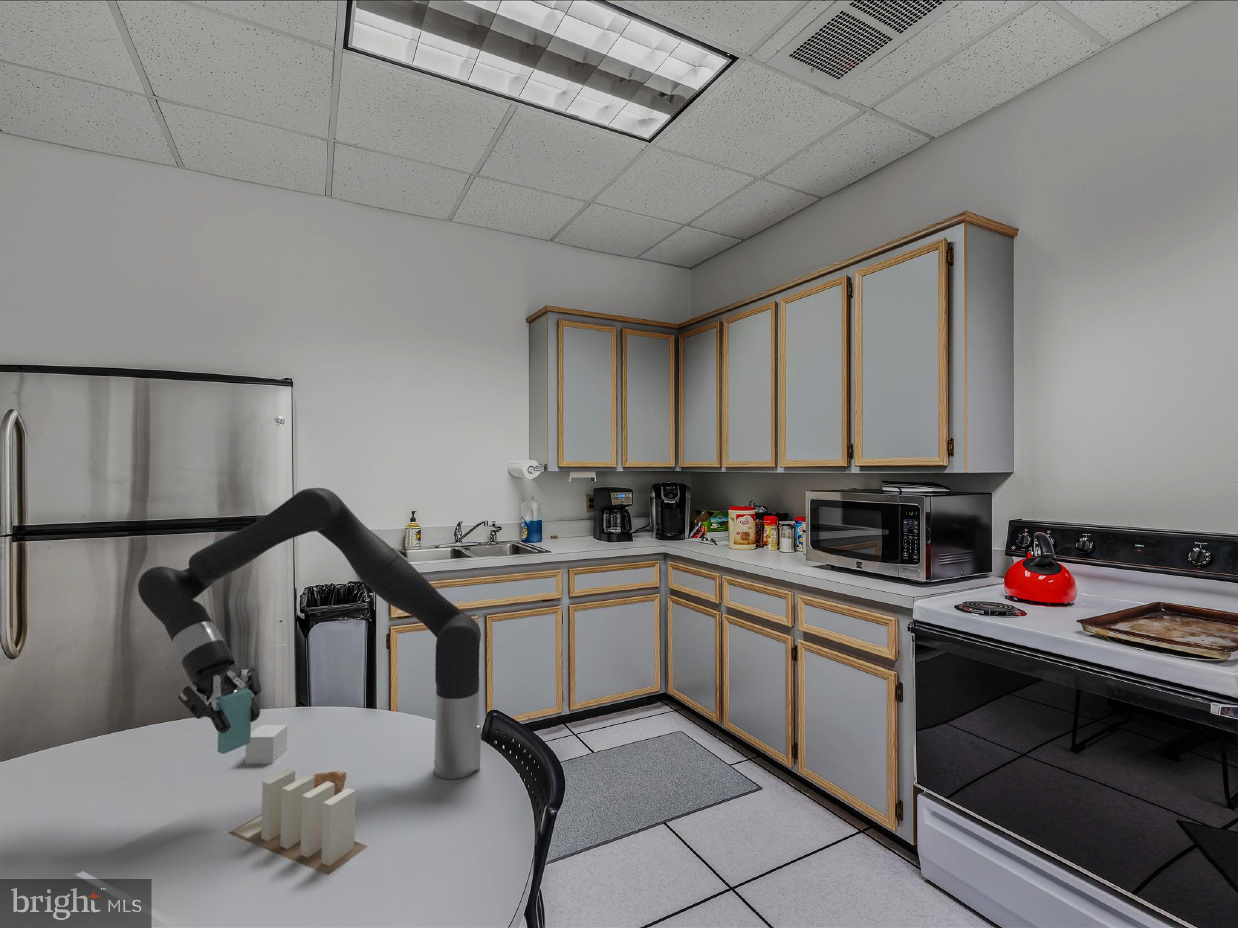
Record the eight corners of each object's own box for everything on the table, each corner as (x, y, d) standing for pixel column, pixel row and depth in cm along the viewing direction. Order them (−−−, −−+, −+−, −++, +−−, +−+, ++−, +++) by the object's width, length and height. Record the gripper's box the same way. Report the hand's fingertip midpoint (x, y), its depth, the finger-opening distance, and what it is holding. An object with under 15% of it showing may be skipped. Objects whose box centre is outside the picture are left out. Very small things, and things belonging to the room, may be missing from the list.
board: (228, 837, 104) (228, 832, 104) (270, 813, 112) (270, 808, 112) (328, 879, 94) (328, 873, 94) (367, 850, 102) (367, 845, 102)
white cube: (286, 750, 137) (287, 725, 137) (272, 763, 131) (273, 736, 131) (260, 750, 136) (261, 725, 136) (245, 763, 130) (246, 736, 130)
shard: (340, 805, 116) (340, 796, 116) (297, 811, 114) (297, 802, 114) (347, 777, 126) (347, 768, 126) (308, 782, 124) (308, 774, 124)
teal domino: (217, 751, 108) (218, 697, 109) (244, 740, 113) (245, 688, 113) (223, 753, 108) (225, 699, 108) (250, 742, 112) (251, 690, 112)
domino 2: (280, 845, 101) (282, 788, 101) (306, 829, 106) (307, 774, 106) (287, 848, 100) (289, 790, 101) (313, 832, 105) (314, 776, 105)
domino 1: (261, 838, 103) (262, 781, 103) (287, 822, 108) (288, 768, 108) (267, 840, 103) (269, 783, 103) (293, 825, 107) (295, 770, 107)
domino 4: (321, 862, 97) (323, 802, 97) (346, 845, 102) (347, 787, 102) (329, 865, 97) (330, 805, 97) (353, 848, 101) (355, 790, 101)
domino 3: (300, 854, 99) (302, 795, 99) (325, 837, 104) (327, 781, 104) (307, 857, 98) (309, 797, 99) (333, 840, 103) (334, 783, 103)
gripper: (171, 649, 107) (211, 728, 102) (248, 630, 120) (286, 699, 115) (153, 674, 109) (191, 752, 104) (230, 652, 122) (268, 721, 117)
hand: (241, 724), depth 110 cm, fingers closed on teal domino, 5 cm apart
